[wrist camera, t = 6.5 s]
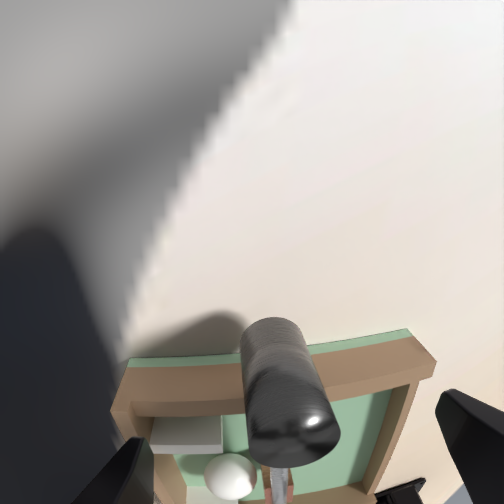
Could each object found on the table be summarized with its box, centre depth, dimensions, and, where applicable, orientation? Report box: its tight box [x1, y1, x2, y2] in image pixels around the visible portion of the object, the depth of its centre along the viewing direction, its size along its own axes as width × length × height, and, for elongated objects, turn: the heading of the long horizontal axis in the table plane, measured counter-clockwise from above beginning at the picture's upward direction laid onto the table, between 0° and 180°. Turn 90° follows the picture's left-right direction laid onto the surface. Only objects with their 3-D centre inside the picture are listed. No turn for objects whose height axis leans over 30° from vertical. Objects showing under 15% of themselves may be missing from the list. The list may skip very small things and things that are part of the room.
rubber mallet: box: [239, 317, 341, 504], centre depth 13 cm, size 20×3×6 cm, turn 3°
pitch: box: [110, 329, 437, 504], centre depth 16 cm, size 16×15×4 cm
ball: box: [204, 453, 257, 500], centre depth 15 cm, size 3×3×3 cm
